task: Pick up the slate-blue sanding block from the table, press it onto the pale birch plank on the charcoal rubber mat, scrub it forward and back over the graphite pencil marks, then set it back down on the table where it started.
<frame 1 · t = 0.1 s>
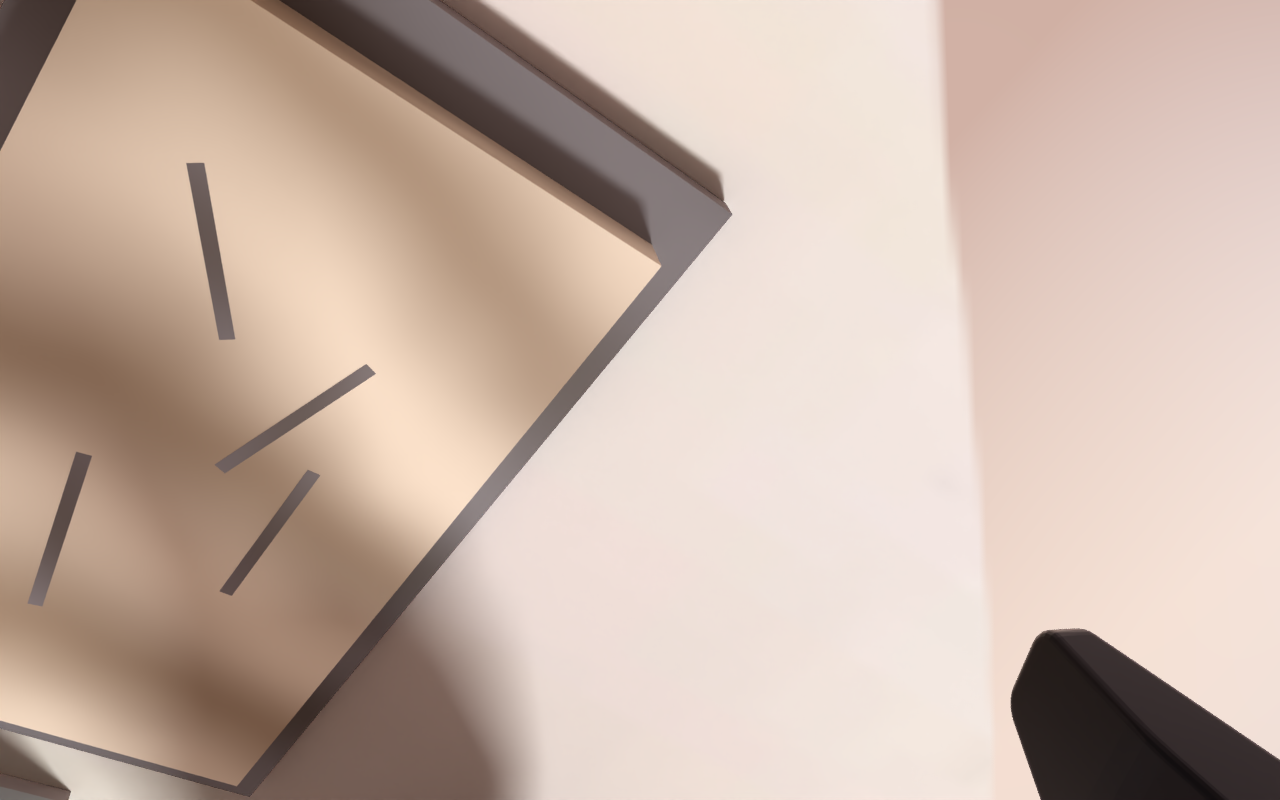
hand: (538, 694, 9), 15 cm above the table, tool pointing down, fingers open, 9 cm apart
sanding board: (204, 419, 23), on the table
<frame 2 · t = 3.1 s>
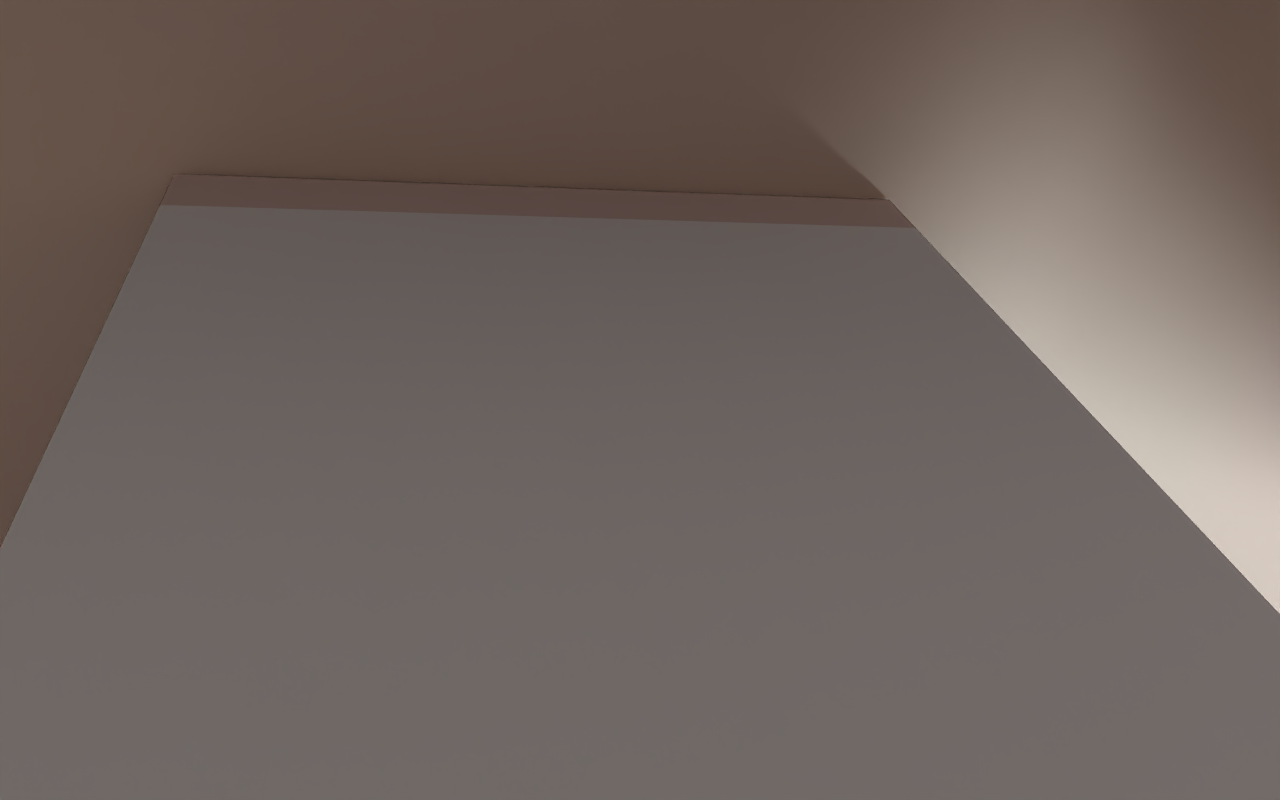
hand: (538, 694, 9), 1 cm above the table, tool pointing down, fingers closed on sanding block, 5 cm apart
sanding block: (526, 605, 10), on the table, touching gripper
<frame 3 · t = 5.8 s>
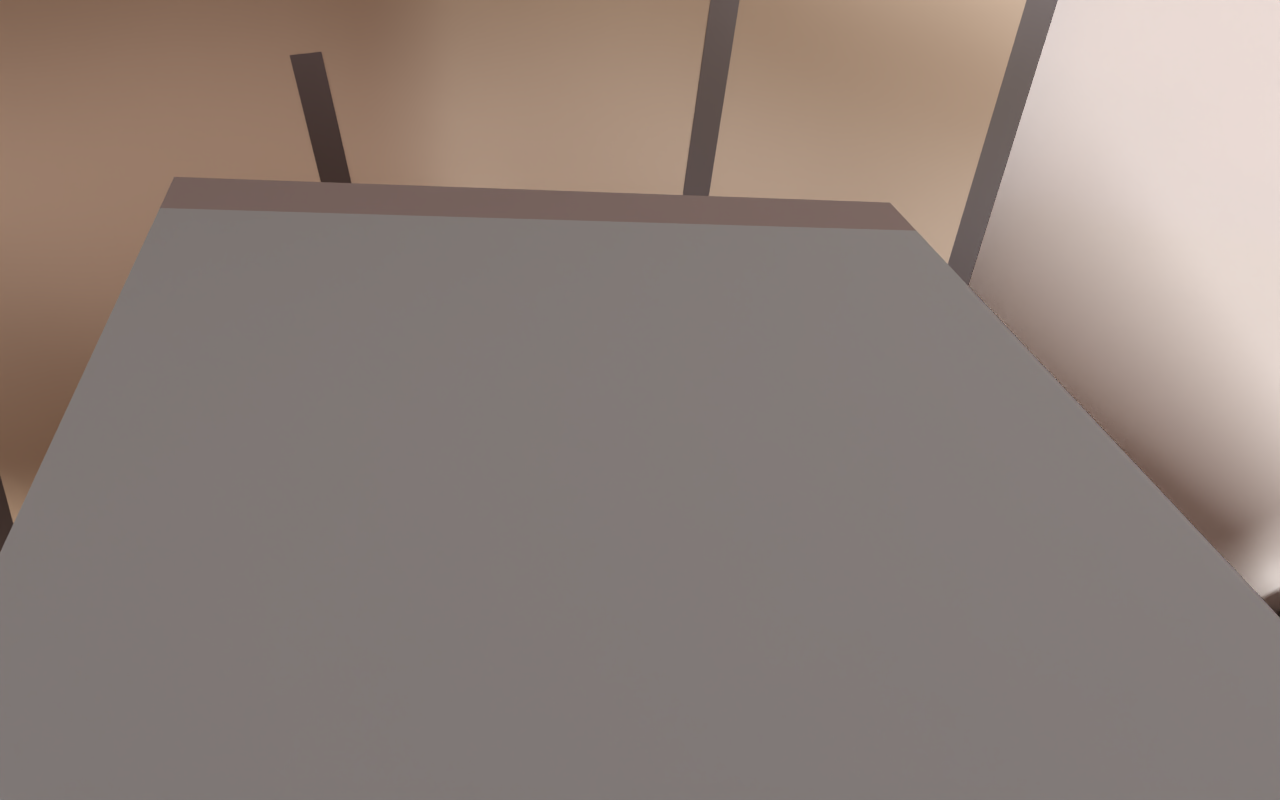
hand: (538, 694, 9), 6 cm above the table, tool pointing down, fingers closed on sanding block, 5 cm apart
sanding block: (526, 608, 10), point 5 cm above the table, touching gripper
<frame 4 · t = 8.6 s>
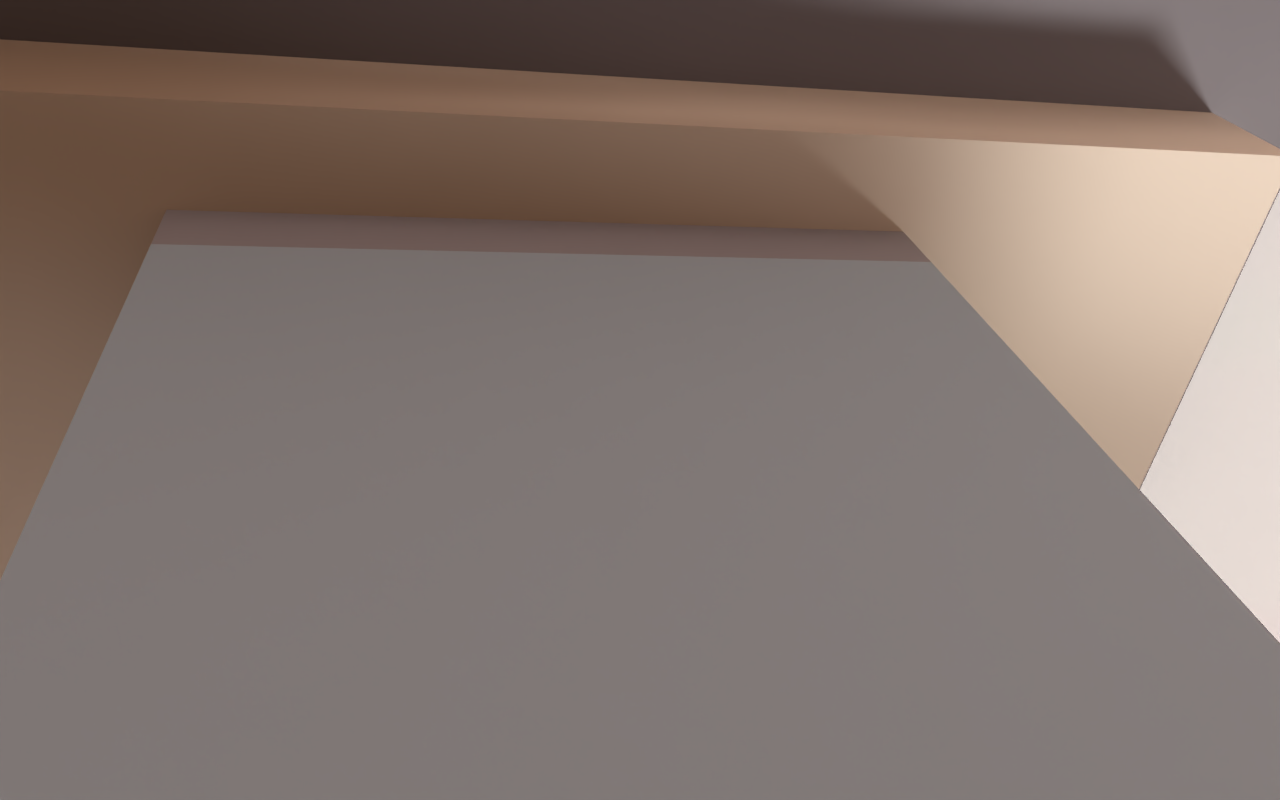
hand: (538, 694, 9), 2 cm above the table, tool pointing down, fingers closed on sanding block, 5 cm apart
sanding block: (529, 641, 9), point 2 cm above the table, touching gripper, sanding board
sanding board: (496, 794, 13), on the table
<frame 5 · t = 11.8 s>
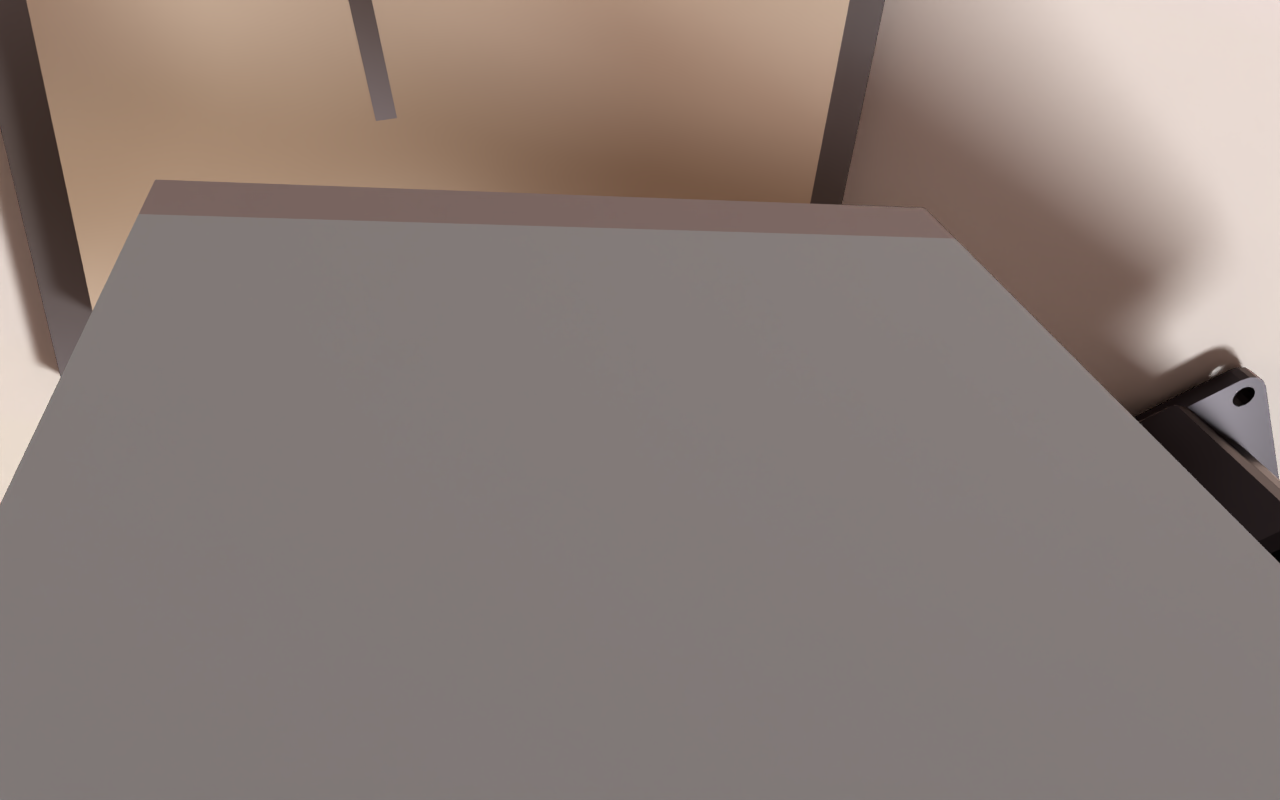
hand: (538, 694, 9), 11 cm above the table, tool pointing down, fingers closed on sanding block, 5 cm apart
sanding block: (532, 635, 9), point 10 cm above the table, touching gripper
when the fingers open (2 cm above the table, at t = 14.5 s): sanding block drops 2 cm, on the table.
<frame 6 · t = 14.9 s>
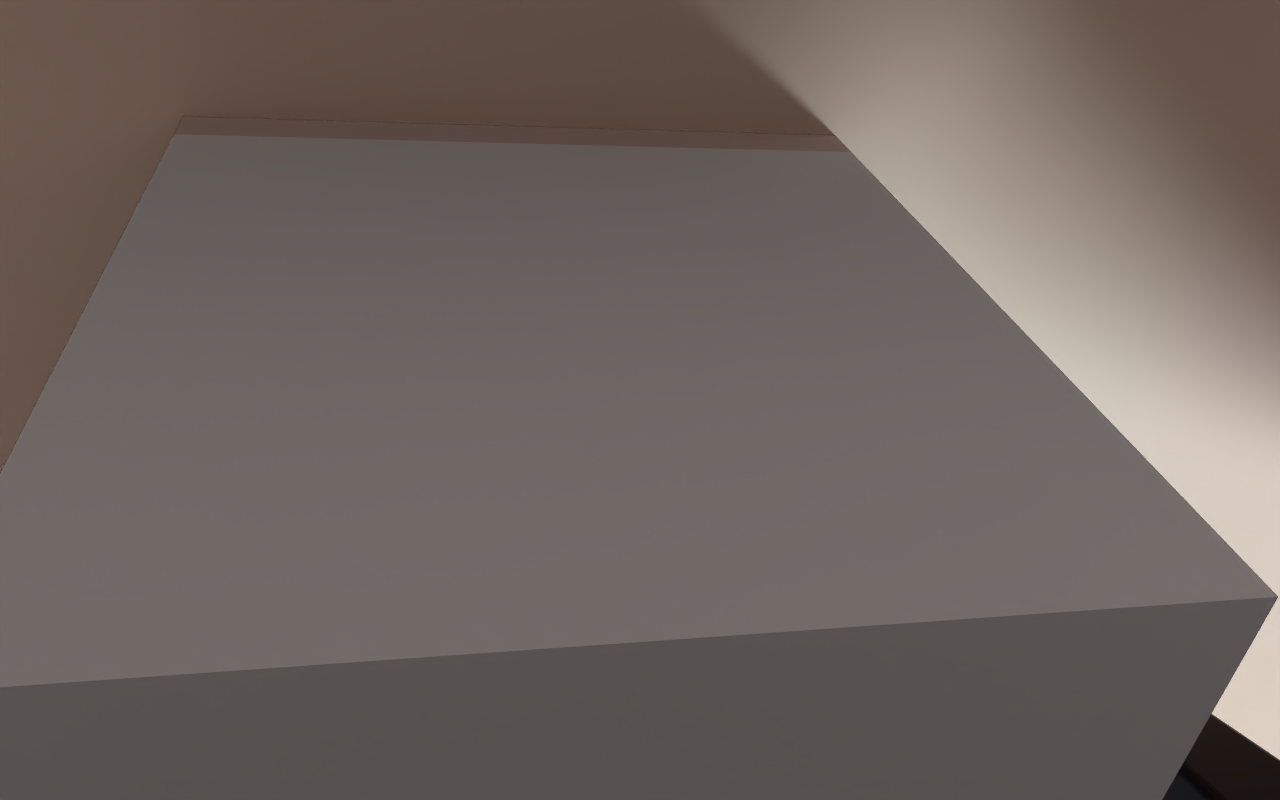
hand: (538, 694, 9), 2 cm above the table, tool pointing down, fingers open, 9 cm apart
sanding block: (513, 518, 10), on the table
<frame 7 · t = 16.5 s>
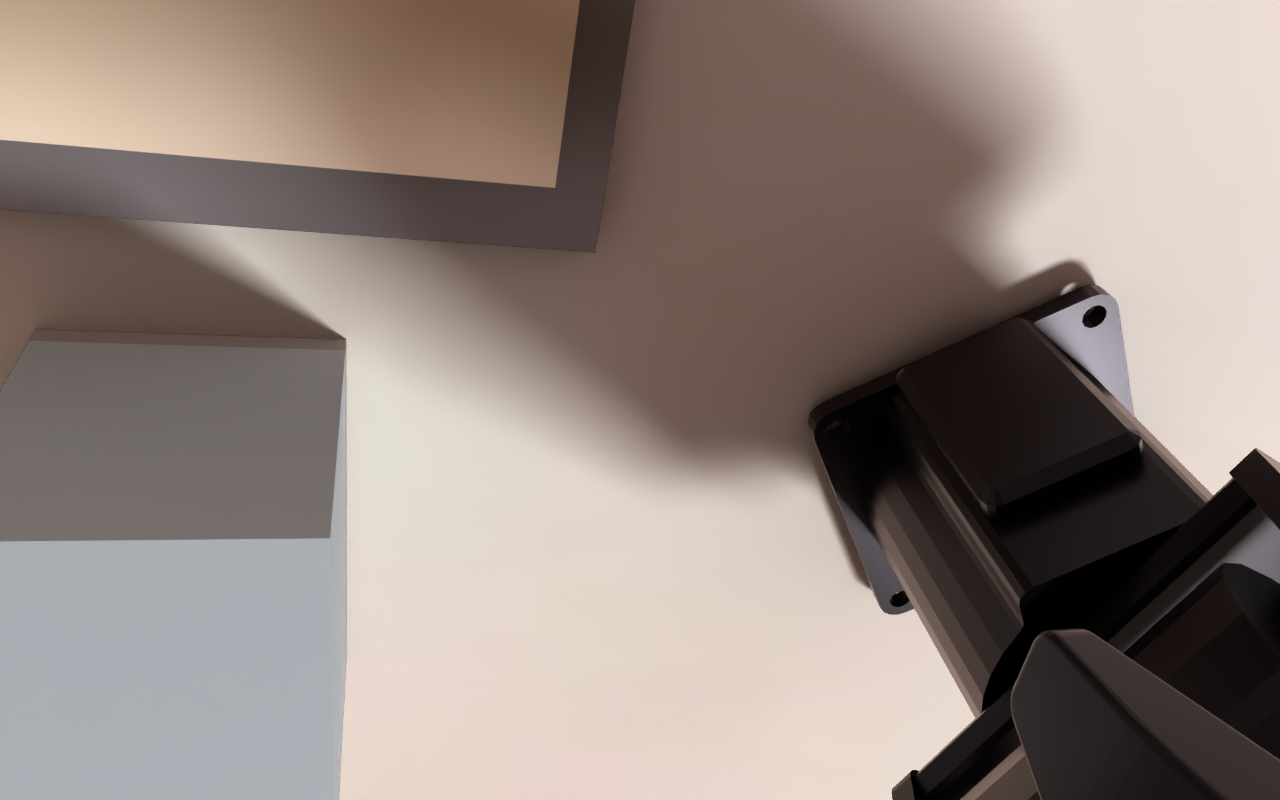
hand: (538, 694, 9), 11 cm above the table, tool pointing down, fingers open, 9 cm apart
sanding block: (212, 510, 20), on the table
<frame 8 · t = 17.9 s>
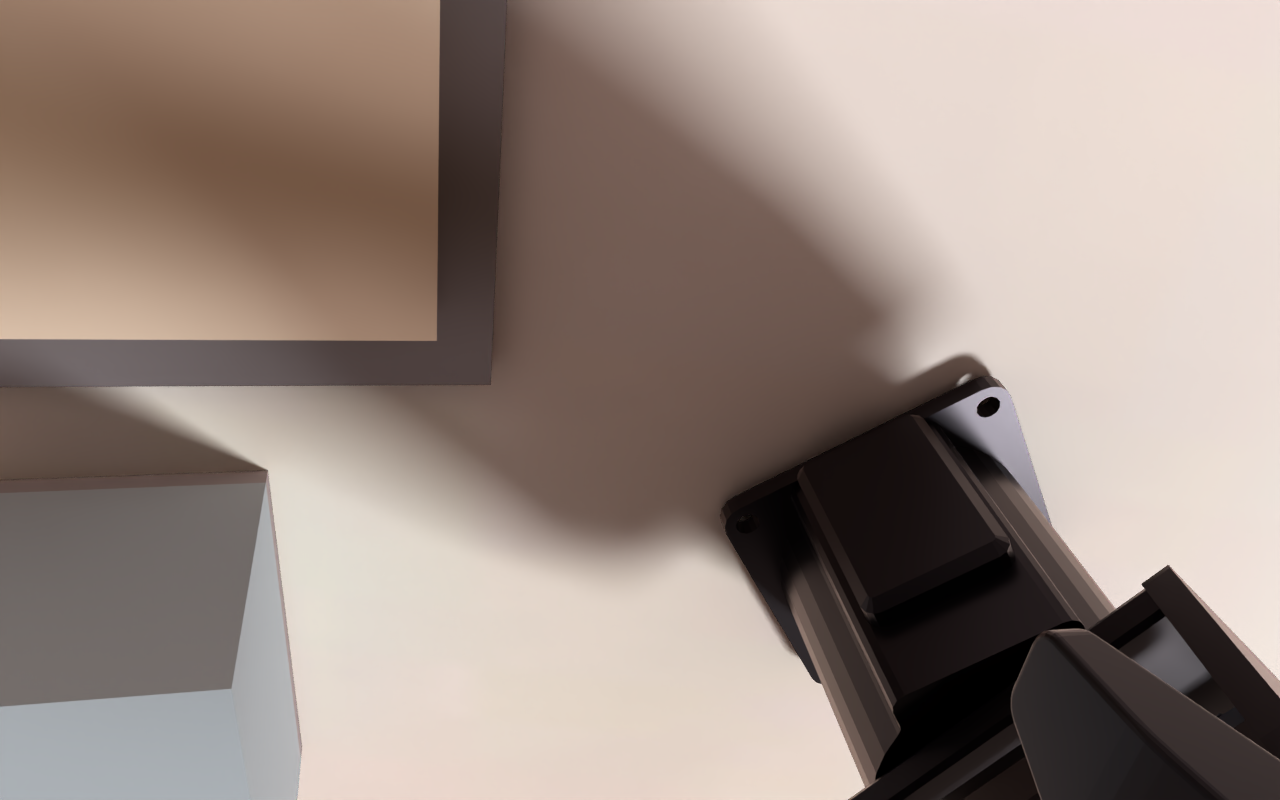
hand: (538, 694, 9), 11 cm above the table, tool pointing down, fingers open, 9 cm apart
sanding block: (160, 626, 22), on the table
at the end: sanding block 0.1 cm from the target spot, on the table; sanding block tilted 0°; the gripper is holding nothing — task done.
